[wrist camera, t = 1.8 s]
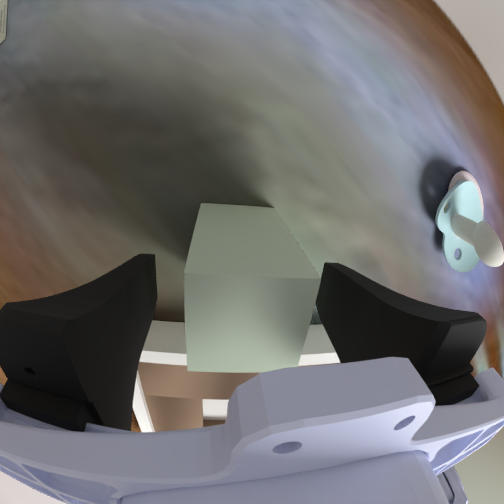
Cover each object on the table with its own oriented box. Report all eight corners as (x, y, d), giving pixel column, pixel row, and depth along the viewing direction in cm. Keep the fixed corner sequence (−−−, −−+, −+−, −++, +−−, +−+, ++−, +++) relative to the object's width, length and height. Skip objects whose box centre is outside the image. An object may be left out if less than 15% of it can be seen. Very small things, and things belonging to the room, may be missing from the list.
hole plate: (339, 341, 19) (347, 355, 18) (298, 436, 25) (302, 448, 23) (139, 337, 17) (134, 354, 16) (162, 437, 23) (161, 449, 21)
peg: (274, 207, 16) (321, 278, 8) (265, 272, 17) (296, 371, 10) (201, 202, 15) (183, 273, 8) (198, 269, 17) (187, 371, 9)
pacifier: (464, 153, 15) (416, 193, 16) (529, 170, 10) (485, 222, 10) (482, 228, 18) (440, 269, 19) (533, 257, 13) (491, 309, 13)
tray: (351, 323, 20) (367, 349, 17) (304, 433, 26) (310, 455, 23) (125, 317, 17) (114, 347, 15) (155, 434, 24) (152, 457, 21)
